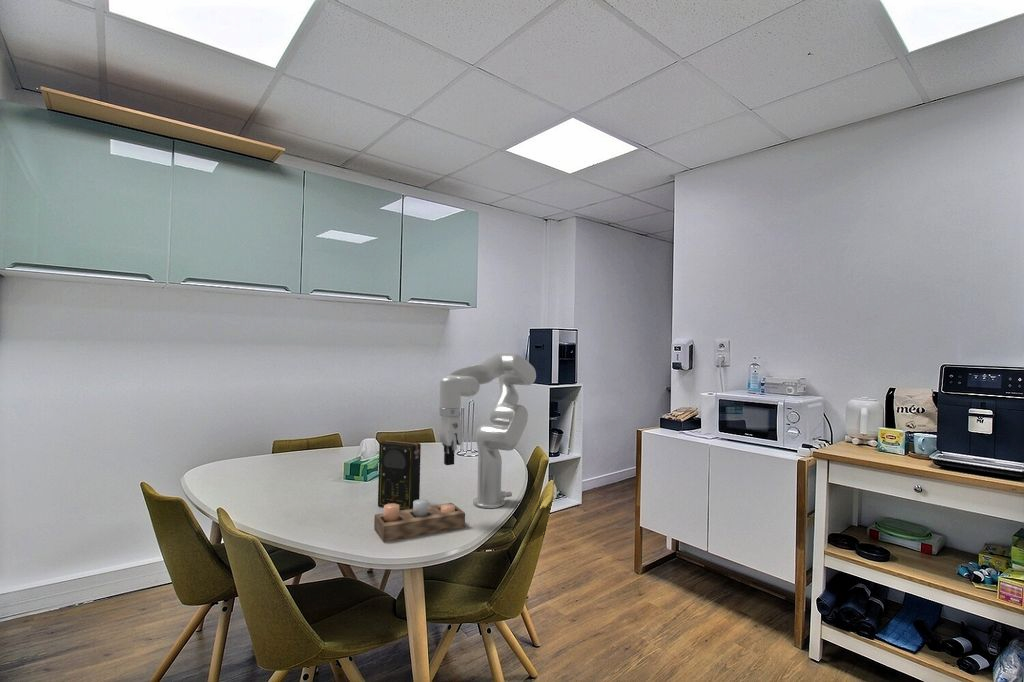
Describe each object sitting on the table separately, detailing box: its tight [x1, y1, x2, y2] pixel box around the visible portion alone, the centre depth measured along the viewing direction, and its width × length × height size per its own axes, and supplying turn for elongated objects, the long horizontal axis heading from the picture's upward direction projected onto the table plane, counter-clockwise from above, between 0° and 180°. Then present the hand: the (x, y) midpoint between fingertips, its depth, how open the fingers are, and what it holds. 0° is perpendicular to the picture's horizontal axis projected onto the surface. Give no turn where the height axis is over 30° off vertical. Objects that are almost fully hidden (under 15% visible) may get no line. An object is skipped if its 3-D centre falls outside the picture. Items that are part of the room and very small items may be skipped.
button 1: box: [383, 503, 400, 523], centre depth 157 cm, size 5×5×5 cm
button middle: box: [413, 498, 429, 518], centre depth 162 cm, size 5×5×5 cm
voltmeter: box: [377, 439, 422, 511], centre depth 184 cm, size 16×9×25 cm, turn 70°
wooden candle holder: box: [373, 502, 466, 543], centre depth 162 cm, size 28×12×5 cm, turn 120°
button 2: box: [441, 503, 456, 513], centre depth 167 cm, size 5×5×5 cm
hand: (449, 464), depth 167 cm, fingers closed
